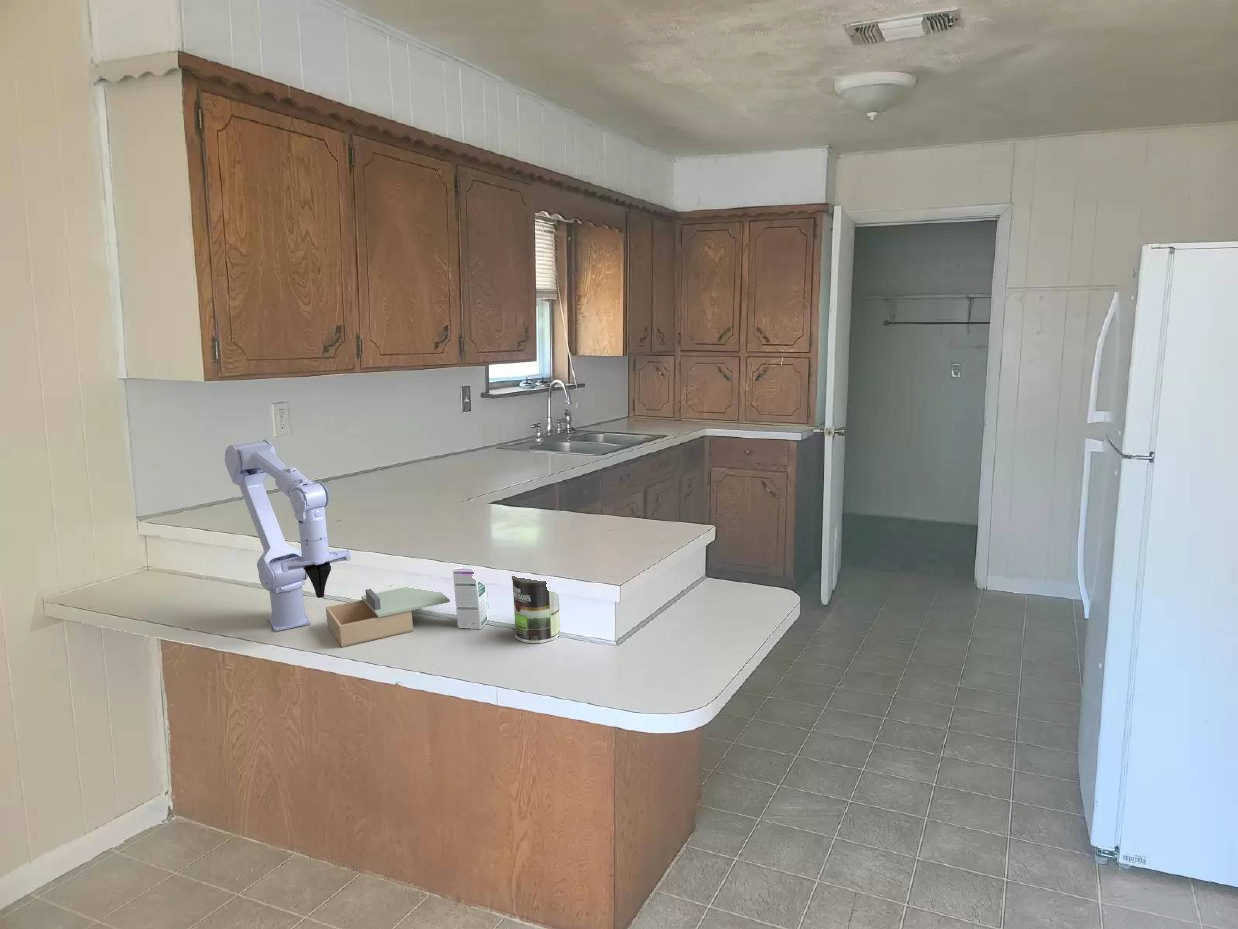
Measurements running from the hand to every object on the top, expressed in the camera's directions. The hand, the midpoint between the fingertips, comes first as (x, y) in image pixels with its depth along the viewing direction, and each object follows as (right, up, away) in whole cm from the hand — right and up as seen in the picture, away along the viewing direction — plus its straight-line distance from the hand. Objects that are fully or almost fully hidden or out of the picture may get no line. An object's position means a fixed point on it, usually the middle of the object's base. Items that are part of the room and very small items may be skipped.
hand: (320, 596), depth 196 cm
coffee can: (+49, -9, 0) cm, 50 cm away
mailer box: (+9, -9, +6) cm, 14 cm away
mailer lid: (+17, -2, +9) cm, 19 cm away
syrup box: (+33, -8, +7) cm, 35 cm away
